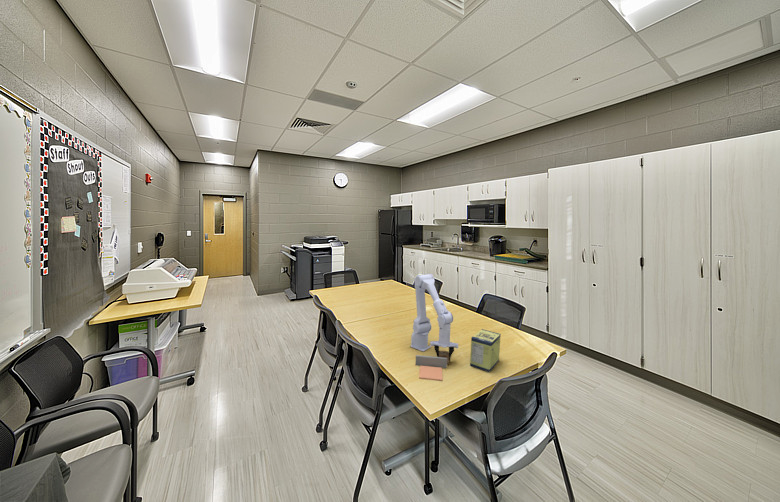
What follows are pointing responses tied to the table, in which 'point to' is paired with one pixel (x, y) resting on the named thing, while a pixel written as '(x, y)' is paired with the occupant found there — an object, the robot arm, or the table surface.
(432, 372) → the terracotta tile
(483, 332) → the protein box
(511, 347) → the table surface
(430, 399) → the table surface
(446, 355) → the walnut cube
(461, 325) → the table surface
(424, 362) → the slate screen
